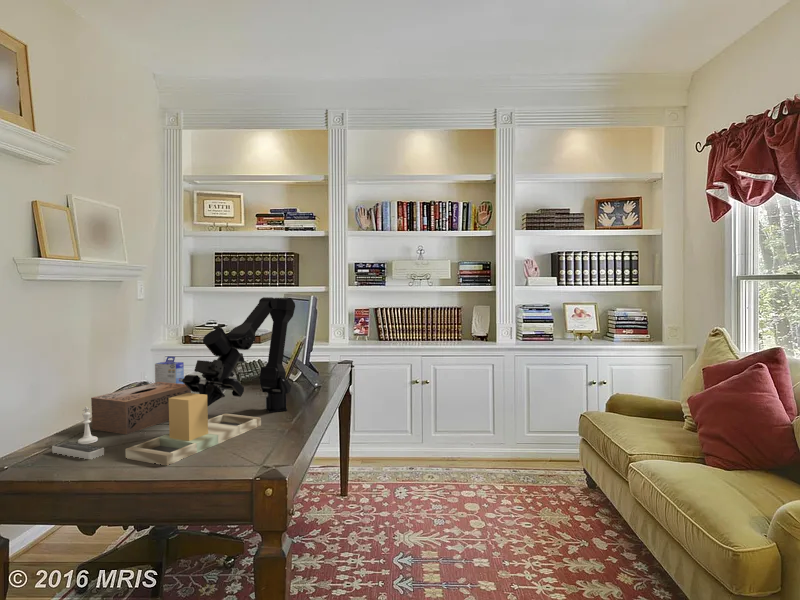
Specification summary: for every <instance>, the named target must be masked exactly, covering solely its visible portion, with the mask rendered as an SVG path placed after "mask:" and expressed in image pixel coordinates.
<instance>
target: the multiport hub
mask: <svg viewBox="0 0 800 600" xmlns="http://www.w3.org/2000/svg"><path fill="white" fill-rule="evenodd" d="M51 449H52V451H51V452H52V454H54V453H57V454H56V455H59V454H62V455H61V456H65V455H67V456H66V457H70V456H73V457H72V458H75V457H79V458H78V459H80V458H84V459H83V460H85V459H91V460H94V459H97V458H99V456H100V457H102V455H103V456H105V448H104V447H101V446H97V445H90V444H80V443H78V442H75V441H64V442H61V443H57V444H53V445H52V448H51ZM96 457H97V458H96ZM93 458H94V459H93Z"/></svg>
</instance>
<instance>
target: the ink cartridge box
mask: <svg viewBox="0 0 800 600" xmlns="http://www.w3.org/2000/svg"><path fill="white" fill-rule="evenodd" d="M175 359H176V356H166V359H165V361H161V362H156V363H154V383H156V382H166V383H177V384H184V383H183V382H182V380H183V379H184V377H185V376H184V374H185V372H184V371H185V370H184V362H182V361H181V362H180V361H177V362H176V361H175Z"/></svg>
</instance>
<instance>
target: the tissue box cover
mask: <svg viewBox="0 0 800 600" xmlns="http://www.w3.org/2000/svg"><path fill="white" fill-rule="evenodd" d="M185 393H192V391H191V390H190V389H189V388H188V387H187V386H186V385H185V384H177V383H166V382H156V383H155V382H151V383H149V384H144V385H140V386H136V387H131V388H128V389H123V390H118V391H115V392H110V393H106V394H102V395H97V396H93V397H91V399H90V402H91V403H90V404H91V427H92V430H96V431H101V432H109V433H117V434H123V435H129V434H133V433H135V432H138V431H140V430H144V429H147V428H150V427H153V426H156V425H159V424H162V423H165V422H169V398H171V397H175V396H178V395H182V394H185Z"/></svg>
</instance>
